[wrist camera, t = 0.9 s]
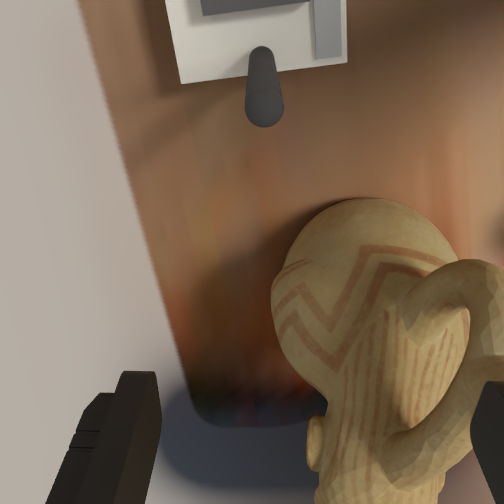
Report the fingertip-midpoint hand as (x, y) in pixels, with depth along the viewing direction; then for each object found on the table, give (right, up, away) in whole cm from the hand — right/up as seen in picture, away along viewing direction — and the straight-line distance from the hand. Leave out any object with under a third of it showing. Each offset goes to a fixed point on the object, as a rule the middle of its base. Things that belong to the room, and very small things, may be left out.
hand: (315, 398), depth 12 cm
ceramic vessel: (+8, +3, +30) cm, 32 cm away
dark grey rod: (-1, +16, +19) cm, 25 cm away
